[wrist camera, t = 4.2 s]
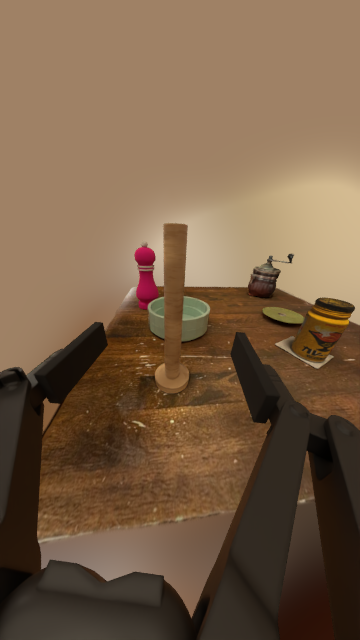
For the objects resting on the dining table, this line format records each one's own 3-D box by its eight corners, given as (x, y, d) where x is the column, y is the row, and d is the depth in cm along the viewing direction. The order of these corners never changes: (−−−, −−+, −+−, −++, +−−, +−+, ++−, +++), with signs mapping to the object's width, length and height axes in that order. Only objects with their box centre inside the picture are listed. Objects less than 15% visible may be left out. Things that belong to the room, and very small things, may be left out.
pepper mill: (143, 301, 56) (138, 240, 47) (161, 303, 54) (160, 241, 45) (133, 308, 50) (125, 240, 40) (153, 311, 48) (150, 241, 39)
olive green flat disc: (305, 320, 47) (308, 315, 46) (297, 333, 40) (300, 327, 39) (267, 309, 54) (269, 304, 53) (255, 318, 47) (256, 312, 46)
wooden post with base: (148, 381, 25) (134, 221, 14) (169, 361, 29) (170, 227, 18) (176, 400, 22) (184, 220, 12) (194, 375, 26) (212, 227, 16)
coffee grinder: (268, 304, 59) (285, 254, 50) (239, 292, 70) (249, 250, 62) (287, 300, 64) (306, 254, 56) (258, 290, 76) (269, 251, 67)
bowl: (136, 329, 39) (134, 307, 36) (172, 309, 50) (172, 292, 47) (187, 352, 31) (189, 327, 29) (215, 323, 43) (219, 304, 40)
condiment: (317, 369, 29) (354, 312, 23) (274, 344, 35) (294, 295, 29) (333, 357, 32) (369, 305, 26) (291, 337, 38) (312, 291, 33)
